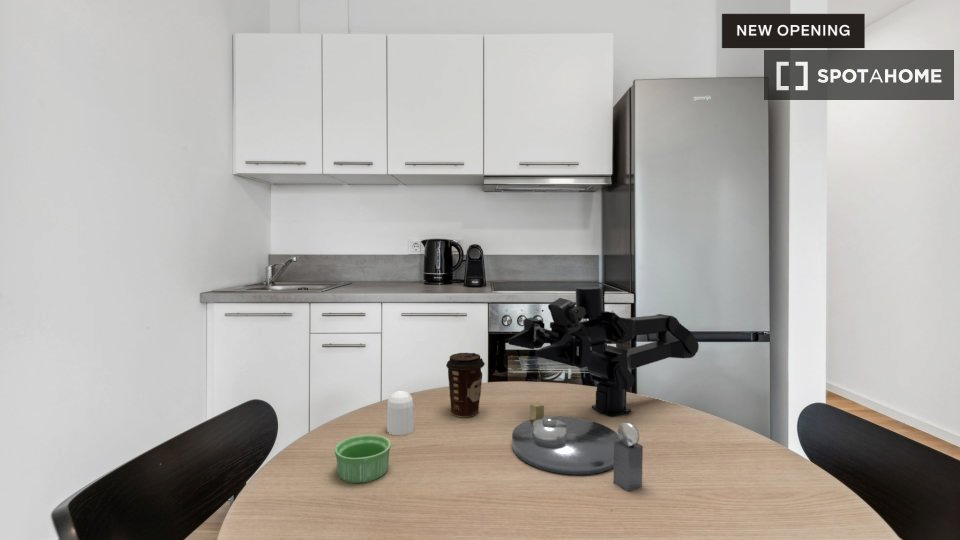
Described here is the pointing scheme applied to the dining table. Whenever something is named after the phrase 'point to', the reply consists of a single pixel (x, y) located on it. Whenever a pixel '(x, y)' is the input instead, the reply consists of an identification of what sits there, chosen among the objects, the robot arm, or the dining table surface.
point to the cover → (549, 432)
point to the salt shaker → (400, 413)
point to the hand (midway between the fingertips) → (521, 347)
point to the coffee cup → (465, 383)
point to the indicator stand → (628, 458)
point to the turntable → (567, 446)
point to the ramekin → (362, 458)
